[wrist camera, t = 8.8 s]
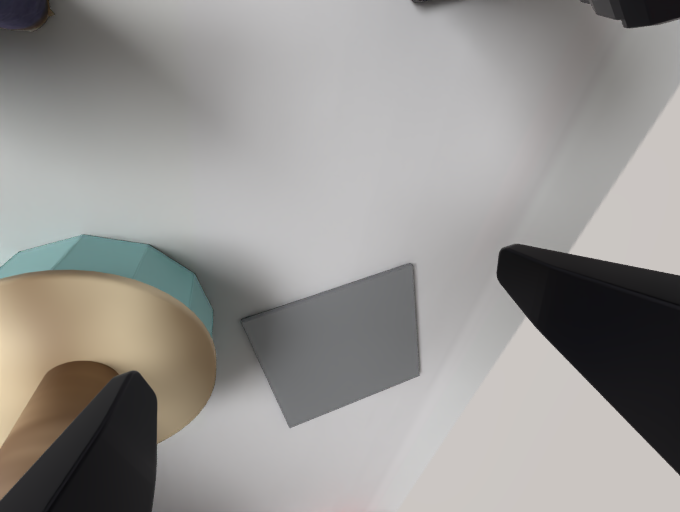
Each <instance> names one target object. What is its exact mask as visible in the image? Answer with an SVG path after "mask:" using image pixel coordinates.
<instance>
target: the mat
mask: <svg viewBox="0 0 680 512" xmlns="http://www.w3.org/2000/svg"><path fill="white" fill-rule="evenodd" d="M242 325H243V327H244V329H245V332H246V334H247V336H248V338H249V340H250V343H251V345H252V347H253V349H254V351H255V354H256V356H257V358H258V360H259V362H260V365H261V367H262V369H263V371H264V373H265V376H266V378H267V380H268V382H269V384H270V386H271V389H272V391H273V393H274V395H275V397H276V400H277V402H278V404H279V406H280V408H281V411H282V413H283V415H284V417H285V419H286V422H287V424H288V426H289V428H292V427H294V426H296V425H299V424H301V423H304V422H306V421H309V420H311V419H314V418H316V417H319V416H321V415H324V414H326V413H329V412H331V411H334V410H336V409H339V408H341V407H343V406H346V405H348V404H351V403H353V402H356V401H358V400H361V399H363V398H366V397H368V396H371V395H373V394H376V393H378V392H381V391H383V390H385V389H388V388H390V387H393V386H395V385H398V384H400V383H403V382H405V381H408V380H410V379H413V378H415V377H418V376H419V360H418V343H417V327H416V310H415V294H414V278H413V265H412V264H411V263H409V264H406V265H403V266H400V267H397V268H394V269H391V270H388V271H385V272H382V273H379V274H376V275H373V276H370V277H367V278H364V279H361V280H358V281H355V282H352V283H349V284H346V285H343V286H340V287H337V288H334V289H331V290H328V291H325V292H322V293H319V294H316V295H313V296H310V297H307V298H305V299H302V300H299V301H296V302H293V303H290V304H287V305H284V306H281V307H278V308H275V309H272V310H269V311H266V312H263V313H260V314H257V315H254V316H251V317H248V318H245V319H242Z"/></svg>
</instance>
